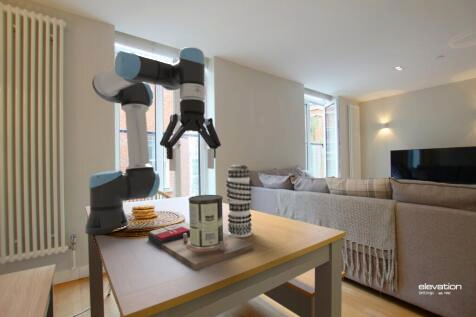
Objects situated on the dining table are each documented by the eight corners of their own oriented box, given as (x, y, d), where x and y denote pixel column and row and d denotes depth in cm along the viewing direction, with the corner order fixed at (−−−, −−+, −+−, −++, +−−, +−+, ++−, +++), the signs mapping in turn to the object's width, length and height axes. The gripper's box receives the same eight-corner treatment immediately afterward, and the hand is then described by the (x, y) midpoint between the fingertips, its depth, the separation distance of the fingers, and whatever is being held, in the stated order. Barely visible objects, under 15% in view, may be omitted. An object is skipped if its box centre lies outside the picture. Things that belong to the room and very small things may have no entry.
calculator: (147, 230, 83) (186, 220, 93) (148, 243, 83) (187, 231, 93) (160, 238, 75) (201, 226, 84) (161, 252, 75) (202, 238, 85)
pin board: (161, 248, 75) (161, 235, 75) (214, 234, 88) (214, 223, 88) (195, 270, 60) (195, 254, 60) (253, 248, 73) (253, 235, 73)
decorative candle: (222, 233, 89) (220, 165, 89) (241, 228, 94) (240, 164, 94) (237, 239, 82) (236, 165, 82) (257, 233, 87) (256, 164, 87)
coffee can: (209, 235, 81) (208, 193, 81) (230, 242, 74) (229, 196, 74) (182, 243, 74) (181, 197, 74) (203, 252, 67) (202, 201, 66)
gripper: (158, 91, 63) (159, 172, 64) (231, 104, 80) (231, 168, 81) (147, 96, 69) (148, 171, 69) (217, 107, 86) (217, 167, 86)
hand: (192, 169), depth 75 cm, fingers open, 13 cm apart
